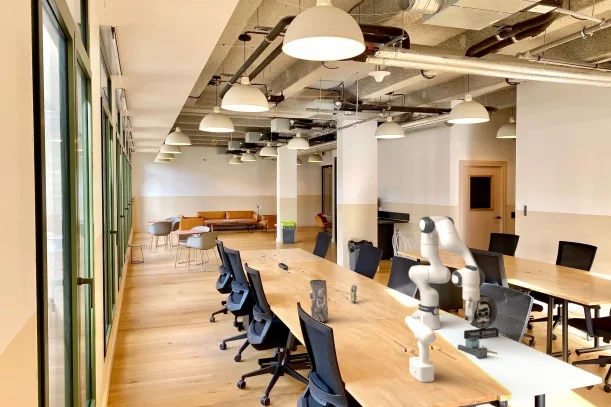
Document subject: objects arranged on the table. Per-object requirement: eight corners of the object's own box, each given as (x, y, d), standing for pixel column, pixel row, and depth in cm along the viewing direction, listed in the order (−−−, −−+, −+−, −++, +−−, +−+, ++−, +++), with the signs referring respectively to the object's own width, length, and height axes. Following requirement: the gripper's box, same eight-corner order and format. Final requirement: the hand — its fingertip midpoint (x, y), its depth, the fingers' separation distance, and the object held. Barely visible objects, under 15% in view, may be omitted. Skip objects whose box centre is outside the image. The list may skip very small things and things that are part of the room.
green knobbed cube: (465, 347, 249) (465, 338, 249) (472, 346, 251) (473, 337, 251) (471, 350, 244) (471, 341, 244) (479, 349, 246) (479, 340, 246)
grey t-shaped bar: (455, 349, 245) (455, 338, 245) (463, 347, 248) (463, 336, 248) (479, 359, 231) (479, 346, 231) (487, 357, 234) (487, 344, 234)
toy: (334, 302, 354) (334, 283, 354) (365, 299, 361) (364, 281, 361) (338, 305, 345) (338, 285, 345) (370, 302, 352) (369, 283, 352)
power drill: (415, 364, 225) (415, 314, 225) (440, 384, 202) (440, 328, 201) (399, 365, 223) (399, 315, 223) (422, 386, 200) (422, 329, 199)
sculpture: (327, 324, 294) (326, 281, 293) (308, 323, 296) (307, 281, 296) (329, 319, 305) (329, 278, 305) (311, 318, 308) (311, 277, 307)
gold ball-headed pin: (482, 352, 241) (482, 350, 241) (483, 351, 243) (483, 349, 243) (495, 354, 238) (495, 353, 237) (497, 353, 239) (497, 352, 239)
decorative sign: (466, 340, 261) (466, 297, 260) (463, 338, 264) (464, 296, 263) (498, 336, 267) (498, 294, 266) (495, 335, 269) (495, 293, 269)
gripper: (475, 300, 235) (475, 326, 236) (479, 292, 254) (479, 317, 254) (462, 299, 238) (462, 325, 238) (467, 291, 256) (467, 315, 257)
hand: (471, 321), depth 246 cm, fingers open, 6 cm apart
